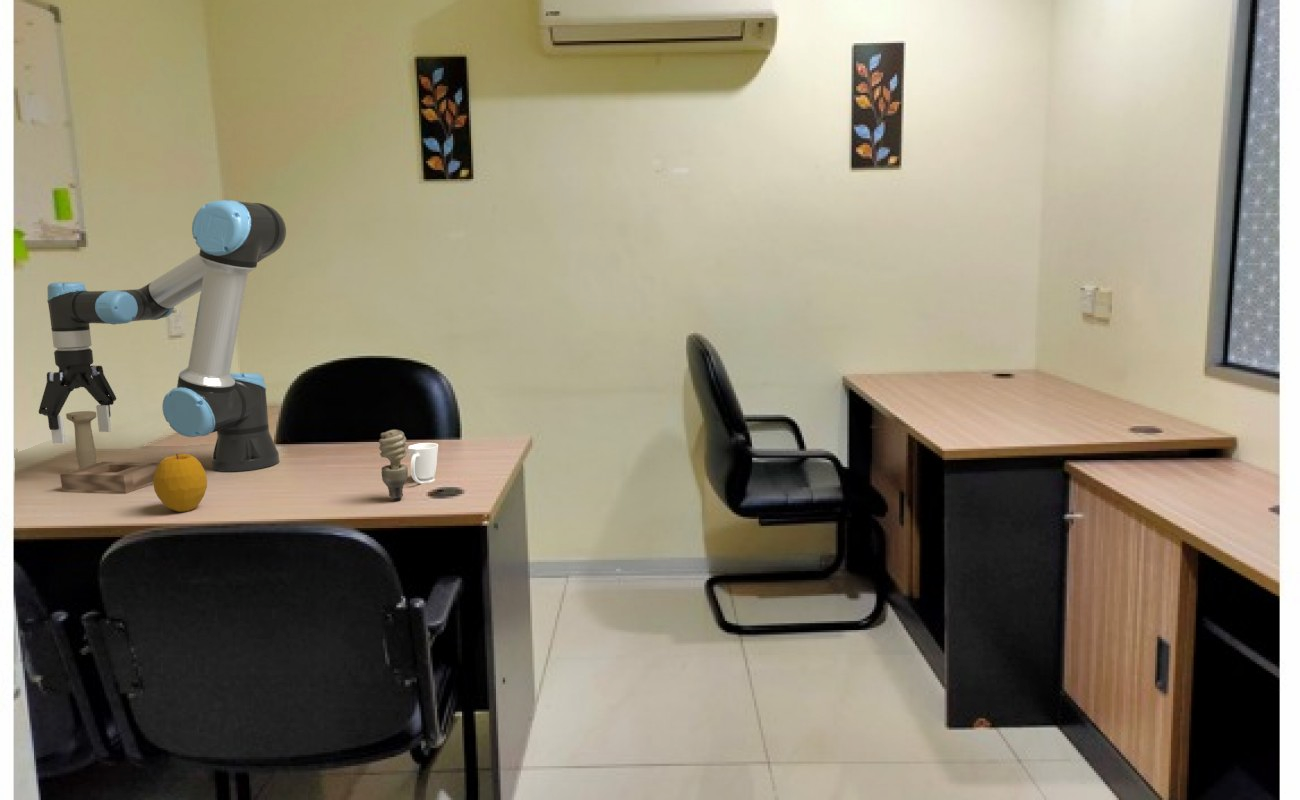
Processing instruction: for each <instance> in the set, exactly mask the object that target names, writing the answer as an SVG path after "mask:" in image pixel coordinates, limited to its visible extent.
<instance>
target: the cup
mask: <svg viewBox="0 0 1300 800" xmlns="http://www.w3.org/2000/svg"><path fill="white" fill-rule="evenodd" d="M407 449H408V453H409V458H410V474H411V477H412V480H414V482H415V483H417V484H420V485H421V484H429V483H433V482H435V480H436V479H435V476H436V471H437V465H438V464H437V463H438V453H439V443H434V442H422V443H415V444H410V445H408V448H407Z"/></svg>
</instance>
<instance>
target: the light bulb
mask: <svg viewBox="0 0 1300 800" xmlns="http://www.w3.org/2000/svg"><path fill="white" fill-rule="evenodd" d="M406 442H407V437H406V436H405V433H404V432H403V431H402V430H400V429H390V430H389V429H388V430H387V431H385V432H381V433H380V438H379V440H378V443H379V447H378V449H379V450H380V451H381V452H380V453H379V456H380V457H381V458H386V459H387V460H389V462H390V464H388V465H384V466H382V467H381V480H382V482H383V483H384V485H385V486H386V487H387V490H388V493H389V494H388V496H389V497H390V498H391V499H394V500H395V501H401V498H403V496H404V493H403V491H404V490H403V489H404V485H405V483H406V482H407V481H408V477H409V475H408V473H409V471H408V468H409V467H408V466H407V465H405V464H401V461H402V460H403V459H404V458H405V457H406V456H407V450H406V449H407V444H406Z"/></svg>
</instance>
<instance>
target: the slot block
mask: <svg viewBox="0 0 1300 800" xmlns="http://www.w3.org/2000/svg"><path fill="white" fill-rule="evenodd" d="M159 463H160V462H135V461H134V462H133V461H128V462H127V461H122V462H121V461H100V462H96V464H93V465H89V466H86V467H82V468H79V467H78V468H76V469H73V470H70V471H69V470H68V471H67V472H63V473H60V474H59V476H60V483H61V491H62V492H63V493H64V492H66V493H68V492H69V493H71V492H72V493H94V494H95V493H97V494H98V493H99V494H128V493H132V492H135V491H136V490H139V489H143V488H146V487H148V486H151V485H154V484H153V480H154V474H155V471H156V468H157V466H158V465H159Z"/></svg>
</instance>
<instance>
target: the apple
mask: <svg viewBox="0 0 1300 800" xmlns="http://www.w3.org/2000/svg"><path fill="white" fill-rule="evenodd" d="M158 463H159V465H158V466H157V468H156V471H155V474H154V480H153V484H152V485H153V488H154V492H155V494H156V496H157V498H158V499H159V500H160V501H161V503H162V504H163V505H164V506H165V507H167V508H168V509H169V510H171V511H175V512H178V513H185V512H190V511H192V510H195V509H196V508H197V507H198V506H199V504H200V503H201V501H202V500H203V498H204V496H205V494H206V491H207V488H208V487H207V486H208V477H207V473H206V470H205V468H204V467H203V465H202V463H201V462H200V460H199V459H197V457H195V456H193V455H191V454H188V453H179V454H178V453H176V454H175V455H171V456H167V457H165V458H163V459H162V460H161V461H160V462H158Z"/></svg>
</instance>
